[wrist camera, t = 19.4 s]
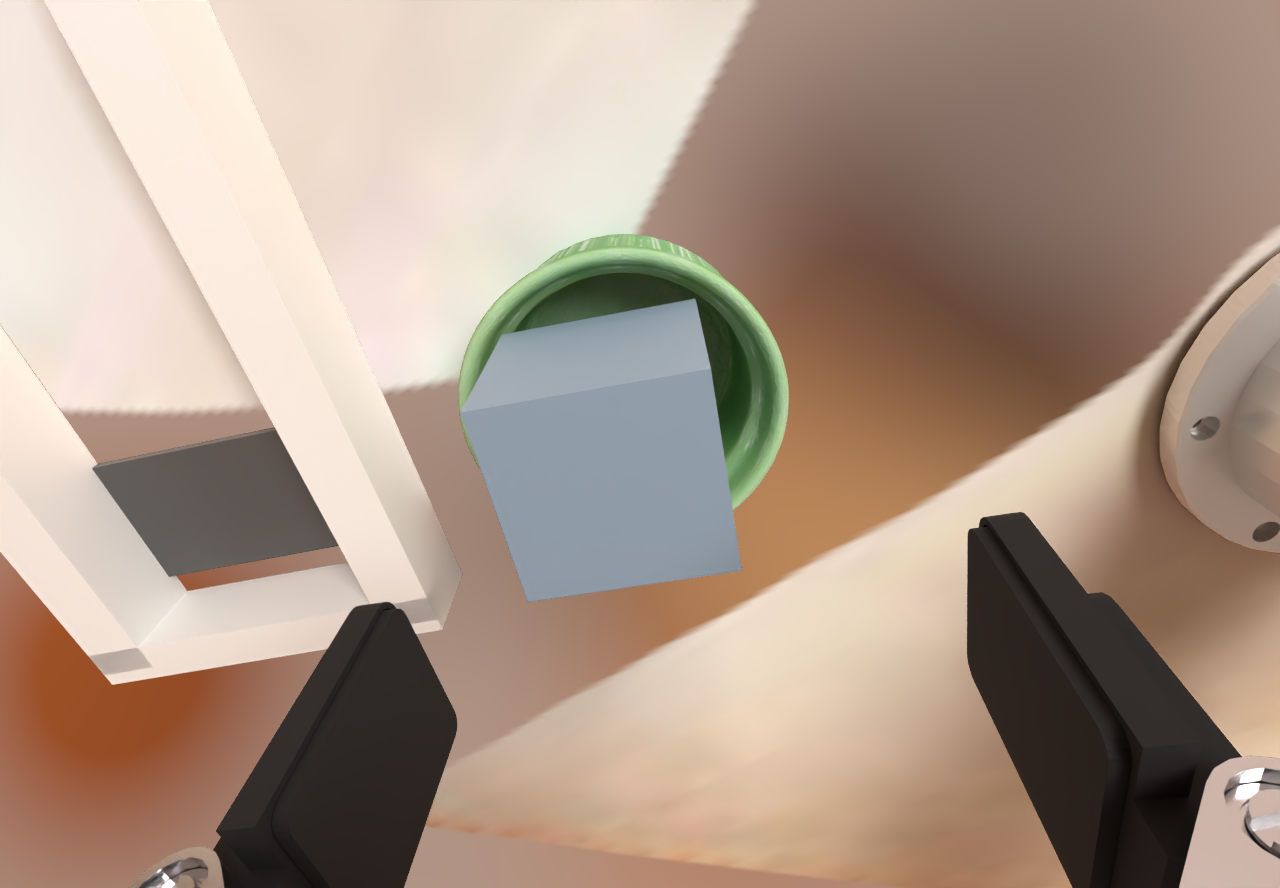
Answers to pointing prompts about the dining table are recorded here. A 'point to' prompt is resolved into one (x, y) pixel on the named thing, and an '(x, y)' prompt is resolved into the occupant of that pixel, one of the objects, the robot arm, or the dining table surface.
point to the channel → (233, 466)
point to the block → (605, 452)
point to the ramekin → (648, 277)
